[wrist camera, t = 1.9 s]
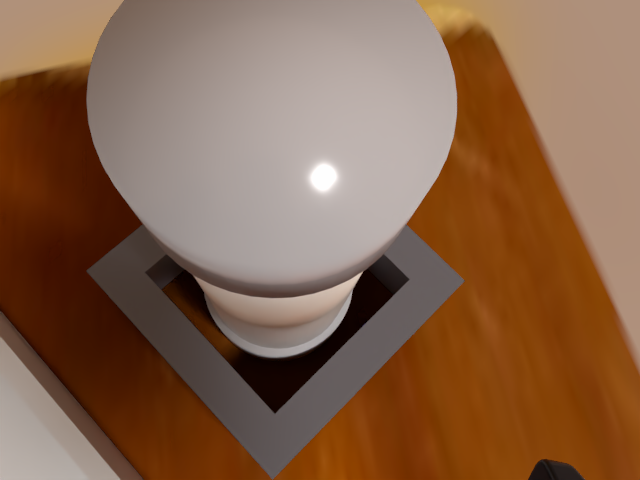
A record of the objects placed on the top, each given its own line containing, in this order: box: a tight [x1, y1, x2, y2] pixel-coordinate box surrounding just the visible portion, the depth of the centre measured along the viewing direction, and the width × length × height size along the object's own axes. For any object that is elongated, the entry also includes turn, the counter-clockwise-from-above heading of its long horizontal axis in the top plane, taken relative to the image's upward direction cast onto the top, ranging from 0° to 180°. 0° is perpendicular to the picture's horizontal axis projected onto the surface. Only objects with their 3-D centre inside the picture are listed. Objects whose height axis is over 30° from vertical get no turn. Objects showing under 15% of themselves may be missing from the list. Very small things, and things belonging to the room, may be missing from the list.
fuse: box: [86, 0, 457, 361], centre depth 13 cm, size 5×5×13 cm
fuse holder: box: [87, 224, 464, 479], centre depth 18 cm, size 8×8×2 cm
